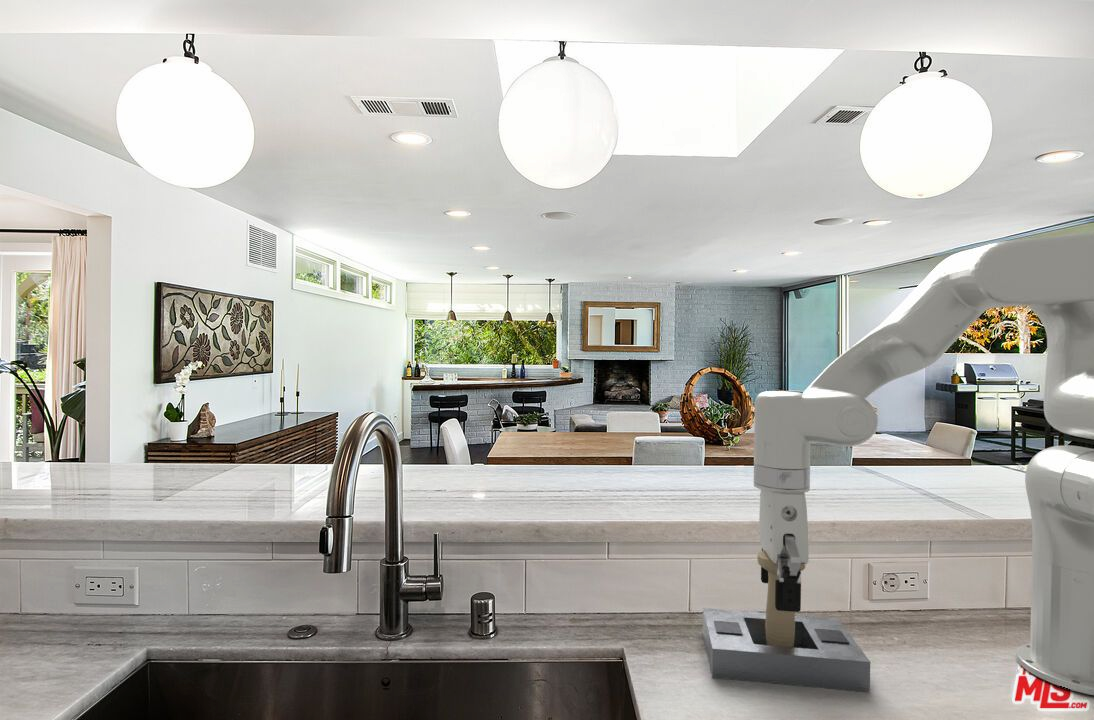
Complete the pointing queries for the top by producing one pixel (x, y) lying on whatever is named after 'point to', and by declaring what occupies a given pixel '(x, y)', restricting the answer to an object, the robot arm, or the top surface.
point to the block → (784, 652)
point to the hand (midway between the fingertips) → (779, 595)
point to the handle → (776, 622)
